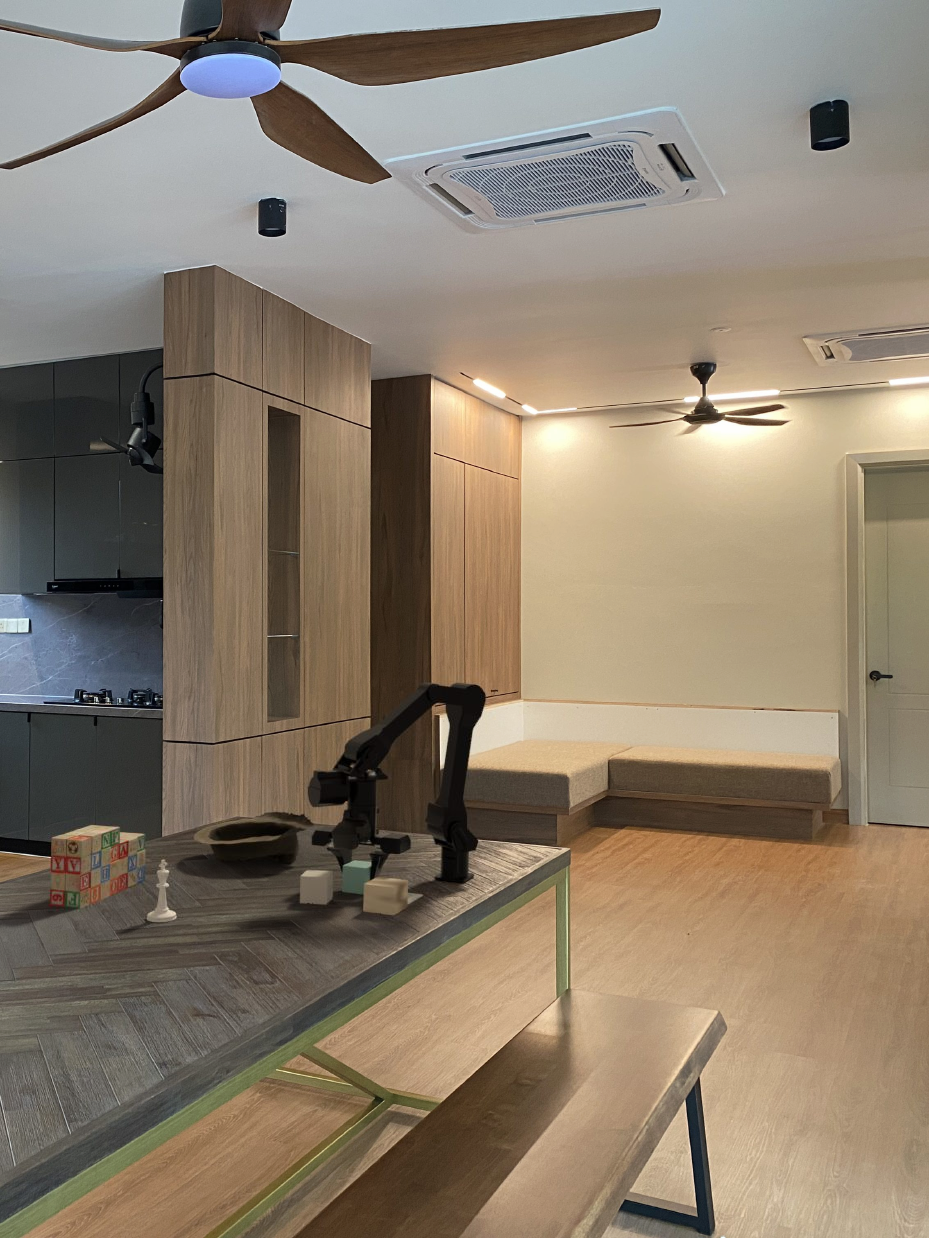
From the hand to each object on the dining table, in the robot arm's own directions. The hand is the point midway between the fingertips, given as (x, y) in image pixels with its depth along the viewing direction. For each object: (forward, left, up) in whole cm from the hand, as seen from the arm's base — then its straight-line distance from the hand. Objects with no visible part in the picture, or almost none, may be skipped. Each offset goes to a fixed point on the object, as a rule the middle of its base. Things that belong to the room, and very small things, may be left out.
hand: (359, 884), depth 205 cm
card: (+2, +9, -1) cm, 9 cm away
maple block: (+10, +10, -1) cm, 14 cm away
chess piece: (+32, -22, -1) cm, 39 cm away
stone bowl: (-13, -32, -1) cm, 35 cm away
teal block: (0, 0, -1) cm, 1 cm away
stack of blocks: (+23, -42, -1) cm, 48 cm away
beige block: (+10, -4, -1) cm, 11 cm away
